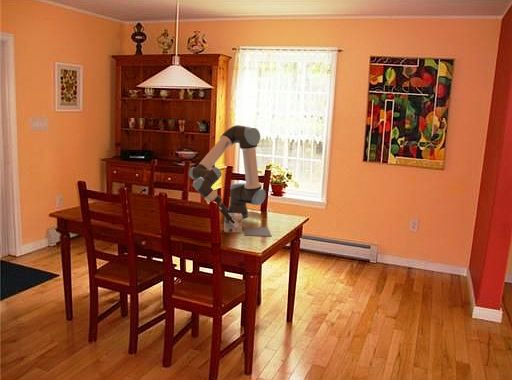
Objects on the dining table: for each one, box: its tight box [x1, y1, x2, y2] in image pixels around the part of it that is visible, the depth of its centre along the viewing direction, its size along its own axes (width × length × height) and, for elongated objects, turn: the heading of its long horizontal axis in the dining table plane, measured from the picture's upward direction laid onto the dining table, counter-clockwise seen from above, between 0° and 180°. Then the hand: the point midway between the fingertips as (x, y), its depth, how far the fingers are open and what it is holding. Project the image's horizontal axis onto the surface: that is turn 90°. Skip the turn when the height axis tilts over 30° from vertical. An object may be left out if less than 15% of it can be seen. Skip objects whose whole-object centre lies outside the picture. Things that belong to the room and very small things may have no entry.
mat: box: [242, 226, 273, 238], centre depth 296 cm, size 20×16×1 cm
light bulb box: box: [223, 213, 243, 234], centre depth 293 cm, size 11×7×11 cm, turn 101°
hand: (237, 224), depth 294 cm, fingers open, 12 cm apart
